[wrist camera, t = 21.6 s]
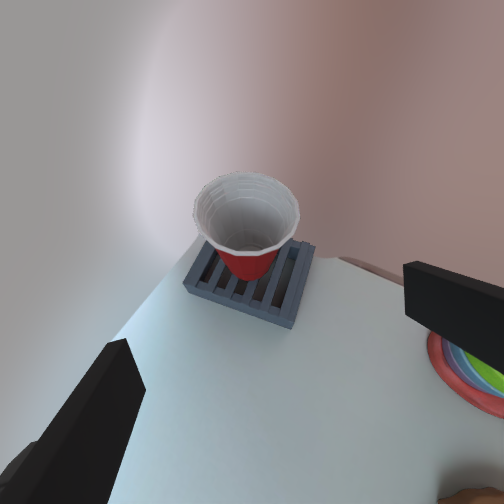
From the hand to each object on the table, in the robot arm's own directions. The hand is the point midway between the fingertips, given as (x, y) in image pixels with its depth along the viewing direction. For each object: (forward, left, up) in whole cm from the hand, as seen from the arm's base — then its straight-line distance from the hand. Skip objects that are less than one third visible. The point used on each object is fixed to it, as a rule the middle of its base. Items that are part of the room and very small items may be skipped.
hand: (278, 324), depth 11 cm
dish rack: (-7, +12, -23) cm, 27 cm away
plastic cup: (-7, +12, -19) cm, 23 cm away
